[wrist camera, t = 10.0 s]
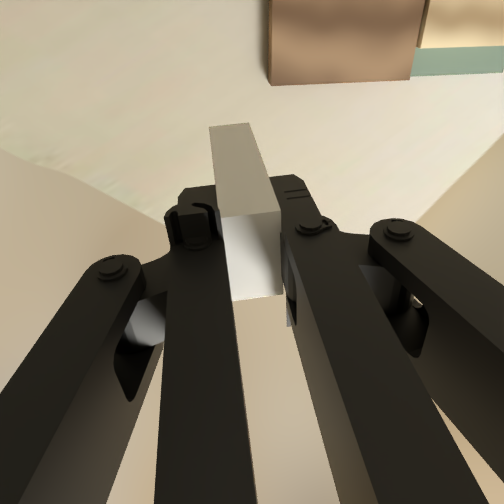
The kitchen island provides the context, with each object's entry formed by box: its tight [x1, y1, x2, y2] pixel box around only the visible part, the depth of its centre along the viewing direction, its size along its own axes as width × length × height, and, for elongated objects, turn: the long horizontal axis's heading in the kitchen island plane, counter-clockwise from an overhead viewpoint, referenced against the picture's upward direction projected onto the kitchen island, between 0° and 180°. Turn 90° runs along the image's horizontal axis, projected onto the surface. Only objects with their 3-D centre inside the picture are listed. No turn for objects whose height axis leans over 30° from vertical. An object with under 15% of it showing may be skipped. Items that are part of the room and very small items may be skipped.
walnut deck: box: [268, 0, 425, 86], centre depth 37 cm, size 12×14×2 cm
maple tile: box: [416, 0, 504, 49], centre depth 38 cm, size 6×9×2 cm, turn 90°
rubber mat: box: [410, 46, 504, 77], centre depth 39 cm, size 12×10×1 cm
